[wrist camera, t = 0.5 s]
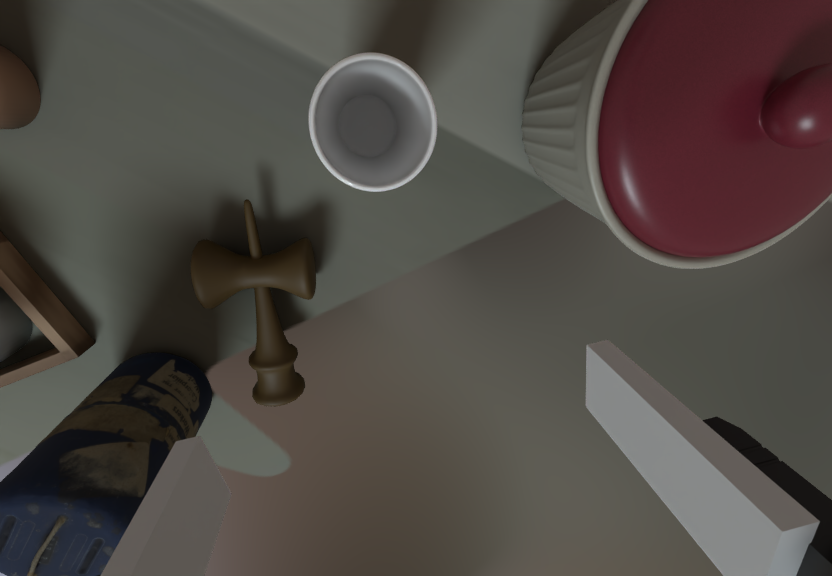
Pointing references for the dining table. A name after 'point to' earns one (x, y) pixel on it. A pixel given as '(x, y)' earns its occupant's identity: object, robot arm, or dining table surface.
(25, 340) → the white lidded jar
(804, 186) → the canister
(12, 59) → the tan domed cylinder
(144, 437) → the canister
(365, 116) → the white tall cup
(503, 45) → the dining table surface
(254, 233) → the kendama
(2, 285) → the caddy
